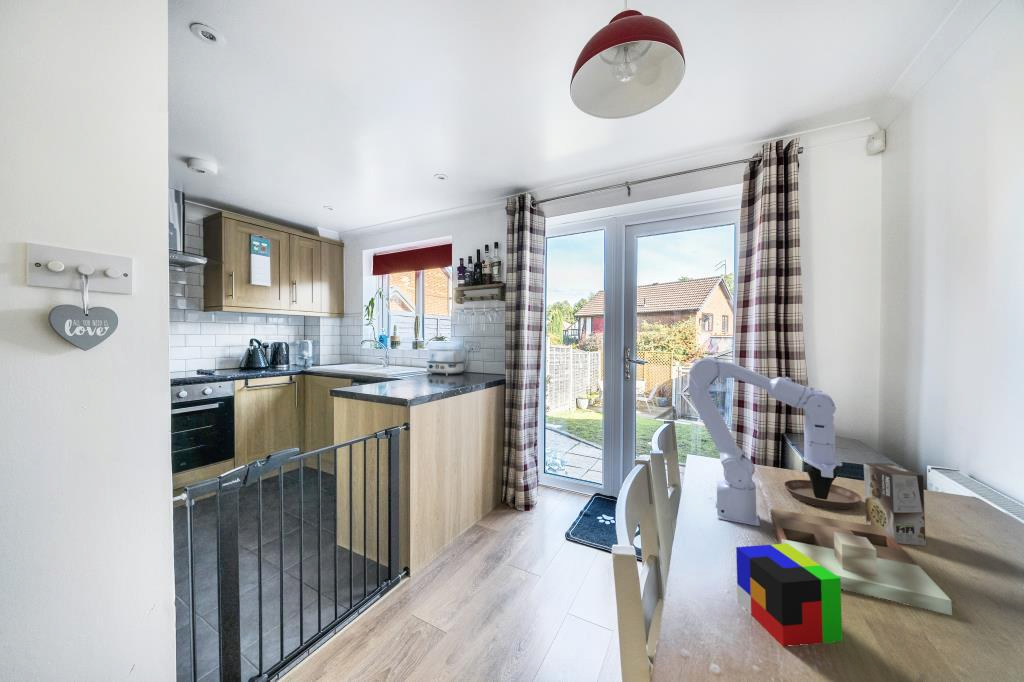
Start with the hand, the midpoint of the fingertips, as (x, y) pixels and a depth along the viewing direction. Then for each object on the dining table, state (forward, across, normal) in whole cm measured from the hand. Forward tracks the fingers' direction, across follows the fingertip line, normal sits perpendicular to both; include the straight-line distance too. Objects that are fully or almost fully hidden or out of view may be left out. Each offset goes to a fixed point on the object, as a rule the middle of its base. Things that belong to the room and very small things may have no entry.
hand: (820, 497), depth 87 cm
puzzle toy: (+10, -36, +12) cm, 40 cm away
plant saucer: (+10, +27, -5) cm, 29 cm away
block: (+7, -17, -2) cm, 18 cm away
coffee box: (+10, +9, -15) cm, 20 cm away
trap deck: (+9, -8, -2) cm, 13 cm away
